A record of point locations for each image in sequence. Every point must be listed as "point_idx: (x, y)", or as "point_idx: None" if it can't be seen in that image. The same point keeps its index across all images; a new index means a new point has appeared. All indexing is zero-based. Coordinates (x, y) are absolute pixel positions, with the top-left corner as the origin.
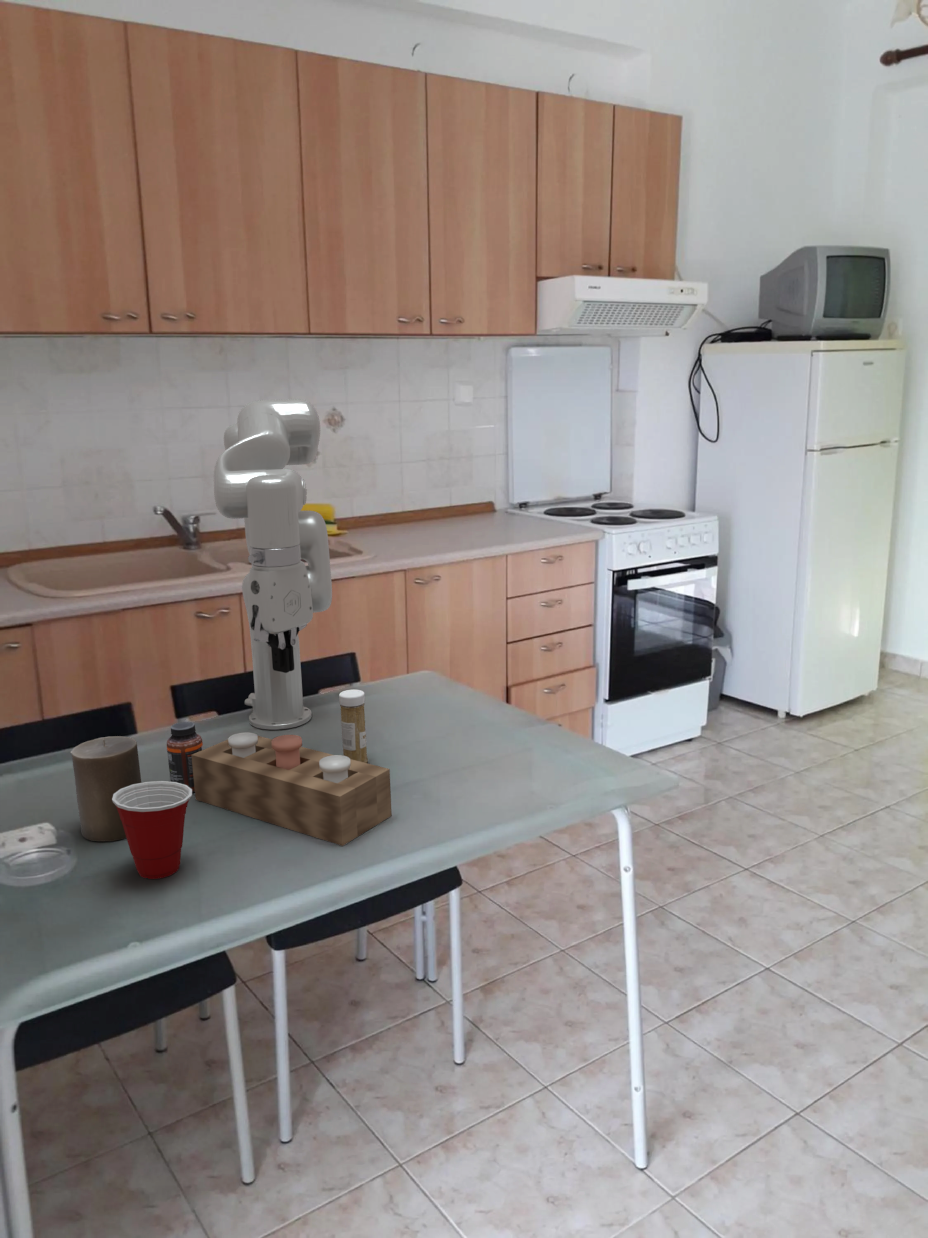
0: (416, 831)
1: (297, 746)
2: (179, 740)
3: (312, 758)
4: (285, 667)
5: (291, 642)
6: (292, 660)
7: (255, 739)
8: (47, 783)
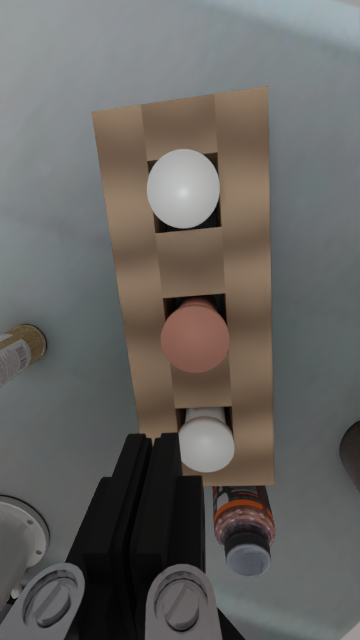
0: (136, 60)
1: (194, 305)
2: (264, 532)
3: (155, 298)
4: (177, 456)
5: (69, 599)
6: (126, 468)
7: (196, 423)
8: (327, 601)
